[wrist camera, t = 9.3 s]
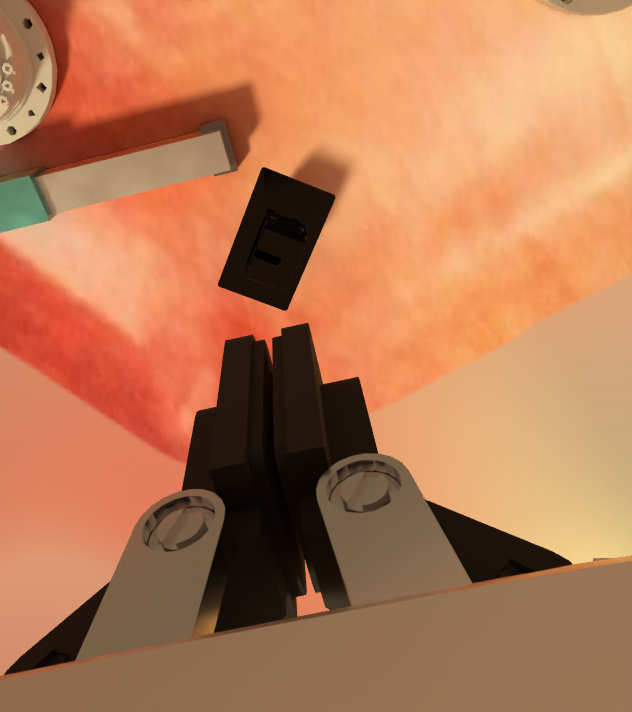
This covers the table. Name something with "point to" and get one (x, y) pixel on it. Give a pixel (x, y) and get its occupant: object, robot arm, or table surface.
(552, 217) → the table surface
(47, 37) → the mechanical component
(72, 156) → the table surface
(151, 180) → the bar rails
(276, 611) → the robot arm
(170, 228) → the table surface
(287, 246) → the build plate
